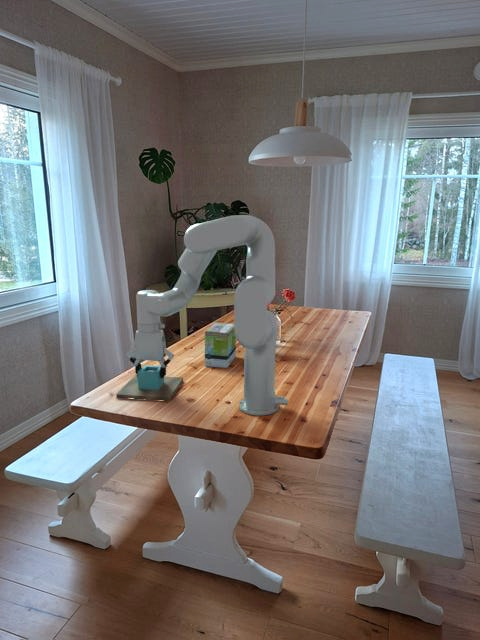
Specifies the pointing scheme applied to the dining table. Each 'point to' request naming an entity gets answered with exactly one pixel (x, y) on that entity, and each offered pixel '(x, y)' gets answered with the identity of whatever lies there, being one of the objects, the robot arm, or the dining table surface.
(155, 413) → the dining table surface
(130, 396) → the post board
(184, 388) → the dining table surface
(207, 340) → the tea box
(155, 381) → the collar
